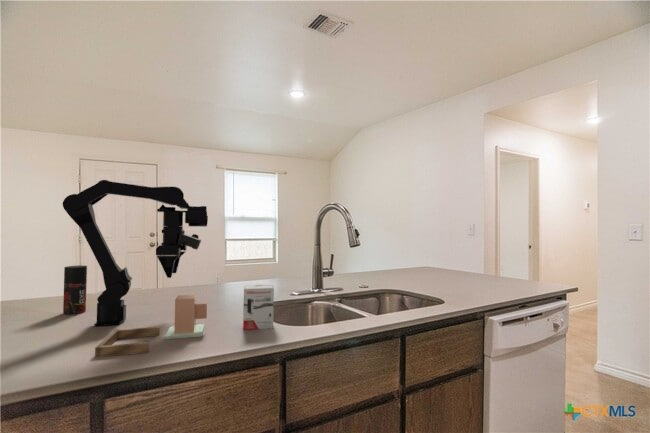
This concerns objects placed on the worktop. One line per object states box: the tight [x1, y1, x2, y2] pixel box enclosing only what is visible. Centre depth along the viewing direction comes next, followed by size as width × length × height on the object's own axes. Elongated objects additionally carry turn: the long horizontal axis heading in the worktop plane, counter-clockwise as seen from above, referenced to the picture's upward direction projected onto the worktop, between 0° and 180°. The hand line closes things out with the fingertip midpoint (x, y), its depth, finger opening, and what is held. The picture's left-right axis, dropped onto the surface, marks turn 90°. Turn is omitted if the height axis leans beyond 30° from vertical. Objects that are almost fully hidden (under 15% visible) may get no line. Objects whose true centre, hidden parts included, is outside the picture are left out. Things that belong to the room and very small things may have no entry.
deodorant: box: [62, 265, 88, 316], centre depth 109 cm, size 6×6×15 cm
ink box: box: [242, 283, 275, 331], centre depth 96 cm, size 8×5×12 cm, turn 103°
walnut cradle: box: [94, 326, 160, 358], centre depth 81 cm, size 10×13×2 cm
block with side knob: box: [174, 294, 208, 334], centre depth 91 cm, size 8×5×9 cm, turn 106°
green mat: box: [163, 323, 205, 340], centre depth 91 cm, size 9×9×1 cm
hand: (171, 275), depth 106 cm, fingers open, 9 cm apart
